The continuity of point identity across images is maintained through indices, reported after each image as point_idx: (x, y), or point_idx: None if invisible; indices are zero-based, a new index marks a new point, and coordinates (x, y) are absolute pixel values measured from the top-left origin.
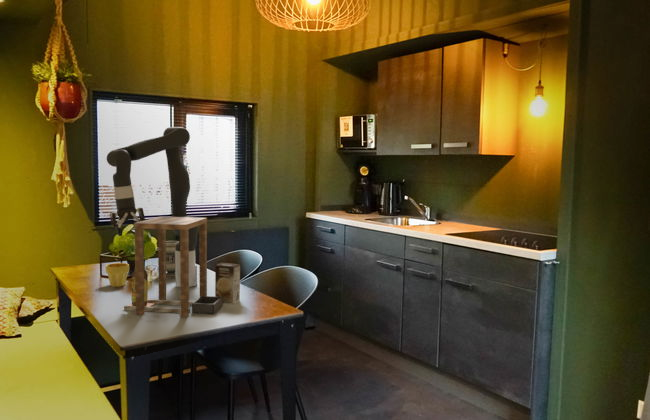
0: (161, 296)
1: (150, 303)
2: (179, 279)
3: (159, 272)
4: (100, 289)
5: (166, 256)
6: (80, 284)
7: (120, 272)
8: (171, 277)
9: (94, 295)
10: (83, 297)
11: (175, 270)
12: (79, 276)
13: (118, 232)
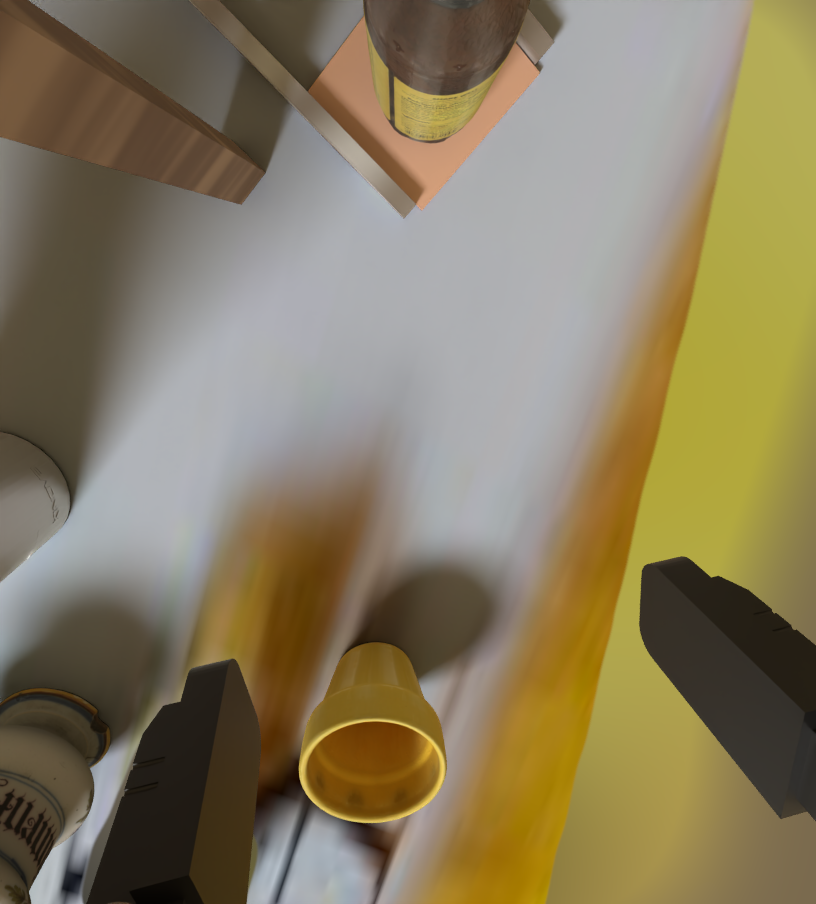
0: (240, 150)
1: (343, 99)
2: (18, 481)
3: (189, 121)
4: (481, 625)
5: (1, 835)
6: (527, 754)
7: (374, 688)
8: (57, 694)
9: (554, 520)
10: (616, 506)
11: (3, 564)
12: (477, 881)
13: (773, 616)
